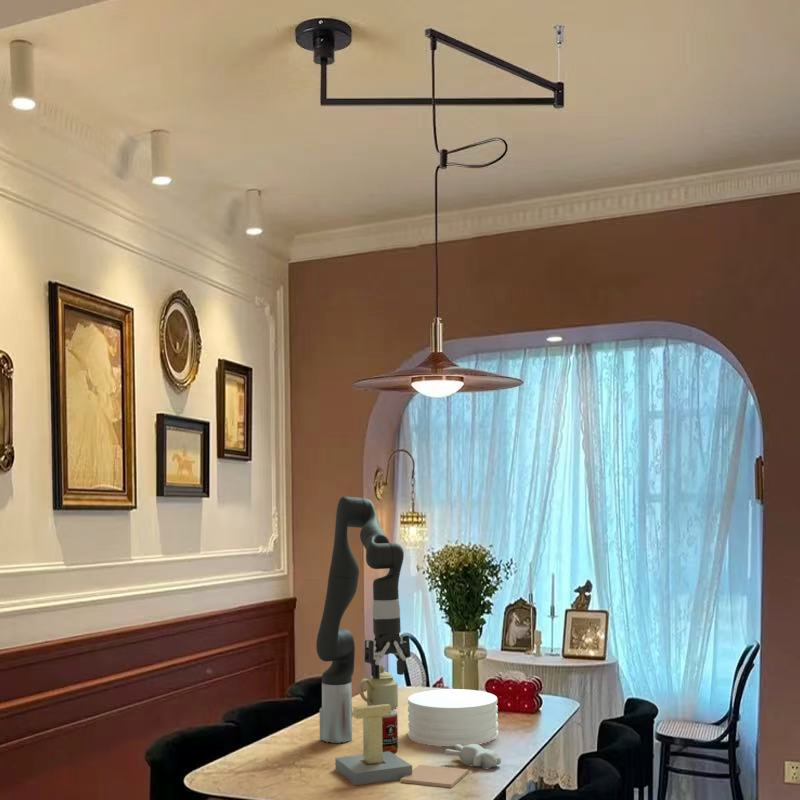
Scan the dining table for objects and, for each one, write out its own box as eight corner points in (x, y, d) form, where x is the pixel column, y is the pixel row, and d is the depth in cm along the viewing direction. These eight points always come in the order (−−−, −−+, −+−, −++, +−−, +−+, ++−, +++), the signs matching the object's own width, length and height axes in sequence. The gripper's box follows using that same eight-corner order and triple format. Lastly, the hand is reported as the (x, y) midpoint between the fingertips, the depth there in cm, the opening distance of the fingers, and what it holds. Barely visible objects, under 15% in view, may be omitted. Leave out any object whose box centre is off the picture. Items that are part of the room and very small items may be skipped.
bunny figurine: (490, 757, 248) (442, 743, 257) (488, 776, 248) (441, 762, 256) (506, 749, 256) (459, 736, 264) (504, 768, 256) (458, 754, 264)
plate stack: (466, 752, 269) (465, 711, 270) (390, 738, 286) (389, 700, 287) (515, 732, 291) (513, 695, 292) (441, 721, 308) (441, 685, 309)
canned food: (379, 755, 266) (378, 716, 267) (367, 749, 273) (366, 711, 274) (402, 752, 270) (402, 713, 271) (390, 746, 277) (389, 708, 278)
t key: (358, 777, 245) (357, 709, 247) (353, 773, 249) (352, 706, 251) (393, 773, 249) (392, 706, 251) (387, 769, 253) (386, 703, 255)
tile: (400, 782, 240) (400, 779, 241) (419, 767, 253) (419, 764, 253) (451, 787, 235) (451, 784, 235) (468, 772, 248) (468, 769, 248)
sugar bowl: (386, 713, 319) (386, 669, 321) (357, 711, 323) (357, 667, 325) (402, 704, 333) (401, 662, 335) (374, 702, 337) (373, 660, 339)
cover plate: (355, 785, 238) (355, 773, 239) (335, 769, 253) (335, 758, 253) (412, 777, 245) (412, 765, 245) (389, 762, 259) (389, 751, 260)
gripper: (397, 613, 262) (399, 671, 260) (357, 617, 253) (359, 678, 251) (415, 614, 257) (417, 674, 255) (374, 619, 248) (376, 681, 246)
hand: (388, 676), depth 253 cm, fingers open, 8 cm apart
